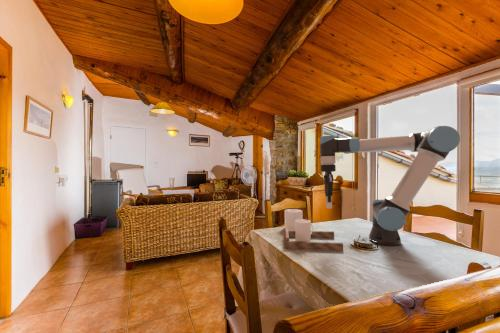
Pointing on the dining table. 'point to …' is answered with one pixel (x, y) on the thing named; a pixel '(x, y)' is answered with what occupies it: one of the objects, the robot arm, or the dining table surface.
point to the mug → (303, 230)
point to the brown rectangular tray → (313, 244)
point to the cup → (292, 217)
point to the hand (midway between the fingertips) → (329, 208)
